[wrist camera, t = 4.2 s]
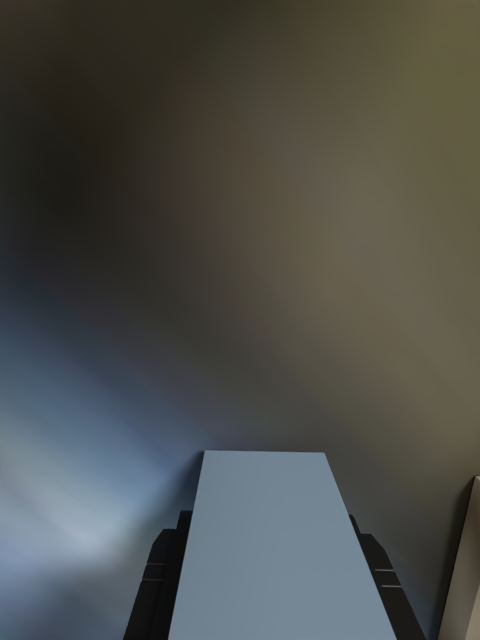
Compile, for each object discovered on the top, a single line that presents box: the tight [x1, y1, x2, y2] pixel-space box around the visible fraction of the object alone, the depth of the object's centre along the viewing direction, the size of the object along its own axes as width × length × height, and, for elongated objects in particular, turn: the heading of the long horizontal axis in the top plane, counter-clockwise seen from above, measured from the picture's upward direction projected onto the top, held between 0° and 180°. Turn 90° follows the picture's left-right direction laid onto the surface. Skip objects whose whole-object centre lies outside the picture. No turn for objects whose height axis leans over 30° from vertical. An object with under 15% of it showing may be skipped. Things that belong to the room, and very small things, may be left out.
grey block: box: [168, 450, 397, 640], centre depth 8 cm, size 4×4×7 cm
